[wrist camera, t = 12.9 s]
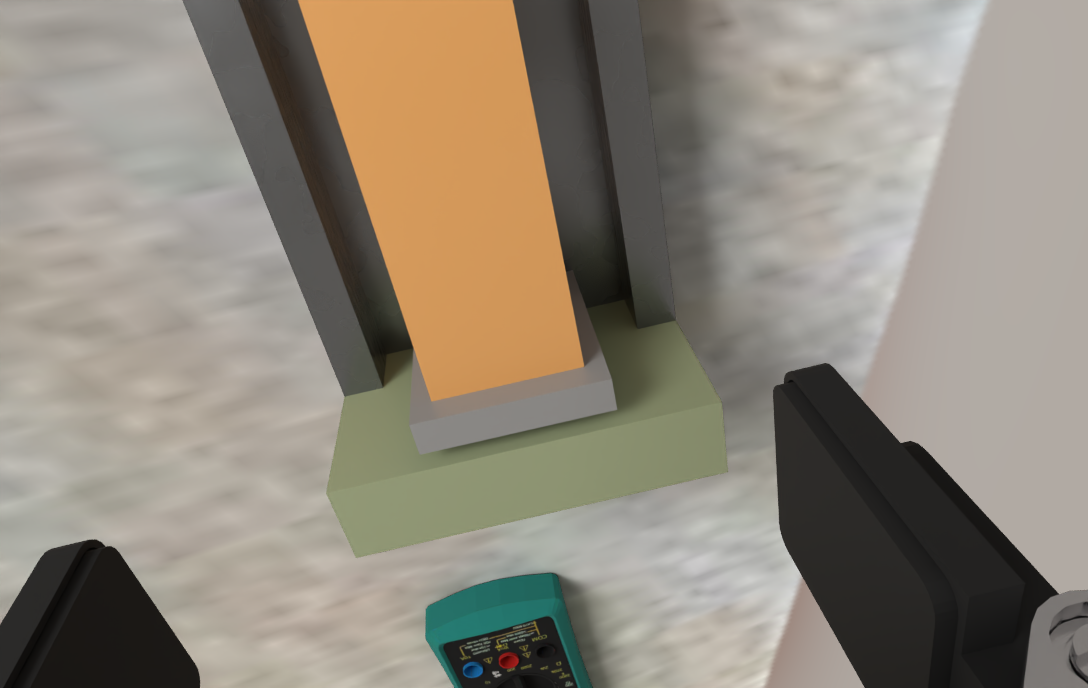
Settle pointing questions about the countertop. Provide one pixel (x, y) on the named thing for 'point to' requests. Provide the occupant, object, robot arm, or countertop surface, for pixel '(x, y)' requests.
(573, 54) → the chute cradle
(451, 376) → the orange pillar on base
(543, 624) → the digital multimeter
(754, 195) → the countertop surface
